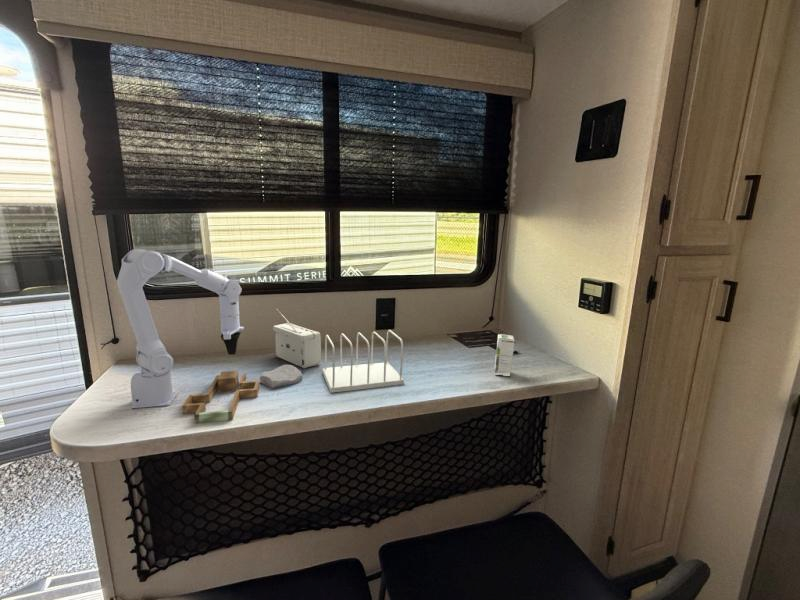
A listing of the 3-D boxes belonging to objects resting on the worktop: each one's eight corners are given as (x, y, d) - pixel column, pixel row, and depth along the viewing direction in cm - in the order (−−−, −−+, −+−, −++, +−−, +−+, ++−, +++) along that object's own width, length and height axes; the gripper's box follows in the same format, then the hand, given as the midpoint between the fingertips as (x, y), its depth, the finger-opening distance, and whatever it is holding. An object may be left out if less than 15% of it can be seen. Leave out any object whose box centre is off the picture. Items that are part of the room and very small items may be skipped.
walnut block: (218, 392, 114) (217, 379, 113) (222, 384, 120) (221, 371, 119) (236, 391, 116) (235, 377, 115) (238, 383, 121) (237, 370, 121)
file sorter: (330, 393, 116) (330, 346, 113) (322, 373, 132) (321, 331, 129) (404, 384, 125) (405, 340, 122) (387, 366, 141) (388, 327, 138)
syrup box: (494, 370, 140) (497, 333, 137) (510, 371, 138) (513, 335, 136) (494, 375, 134) (497, 337, 131) (511, 377, 133) (514, 339, 130)
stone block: (305, 384, 126) (288, 372, 132) (306, 372, 125) (289, 360, 130) (274, 397, 117) (257, 383, 123) (275, 384, 116) (258, 370, 121)
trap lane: (175, 425, 95) (175, 416, 94) (202, 383, 120) (201, 376, 120) (252, 417, 100) (252, 409, 99) (261, 379, 125) (261, 372, 125)
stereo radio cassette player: (322, 365, 140) (321, 314, 136) (303, 370, 134) (302, 317, 130) (290, 352, 153) (289, 305, 149) (272, 357, 147) (271, 308, 143)
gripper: (239, 319, 116) (241, 360, 119) (245, 310, 130) (247, 346, 132) (215, 320, 114) (217, 361, 117) (224, 310, 128) (226, 347, 130)
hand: (232, 353), depth 124 cm, fingers closed
